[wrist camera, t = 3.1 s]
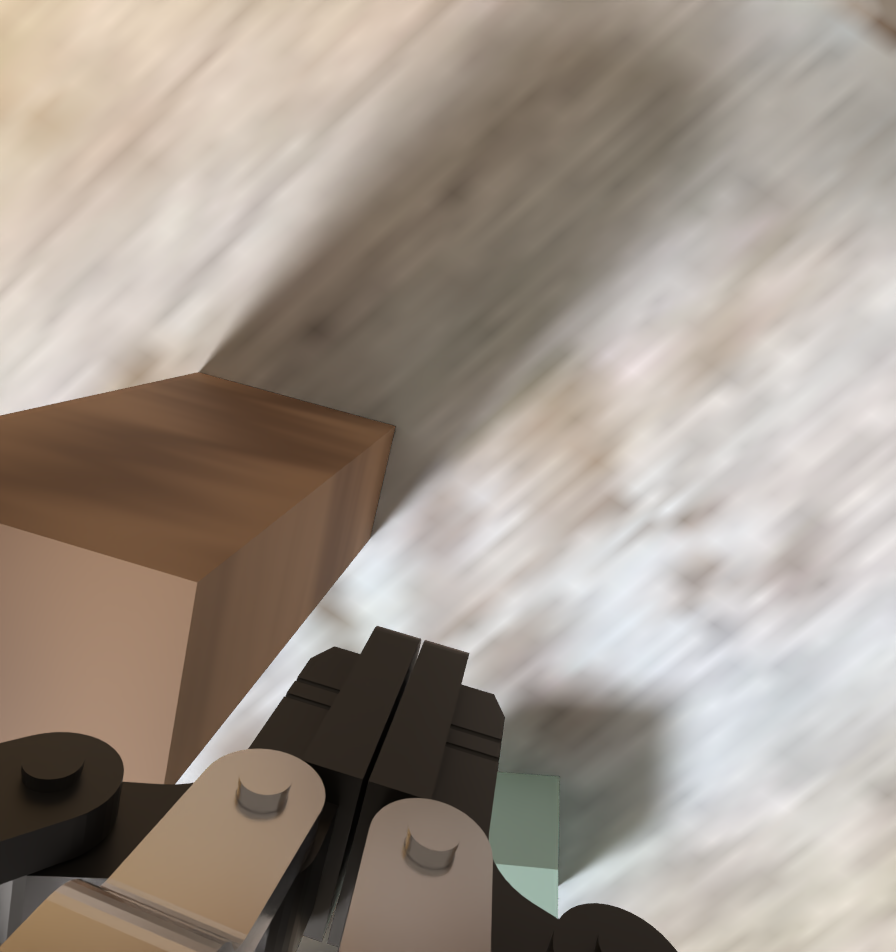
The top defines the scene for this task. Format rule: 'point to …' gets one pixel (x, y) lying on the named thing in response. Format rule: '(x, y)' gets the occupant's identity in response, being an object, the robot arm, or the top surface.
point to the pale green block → (527, 835)
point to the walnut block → (168, 555)
